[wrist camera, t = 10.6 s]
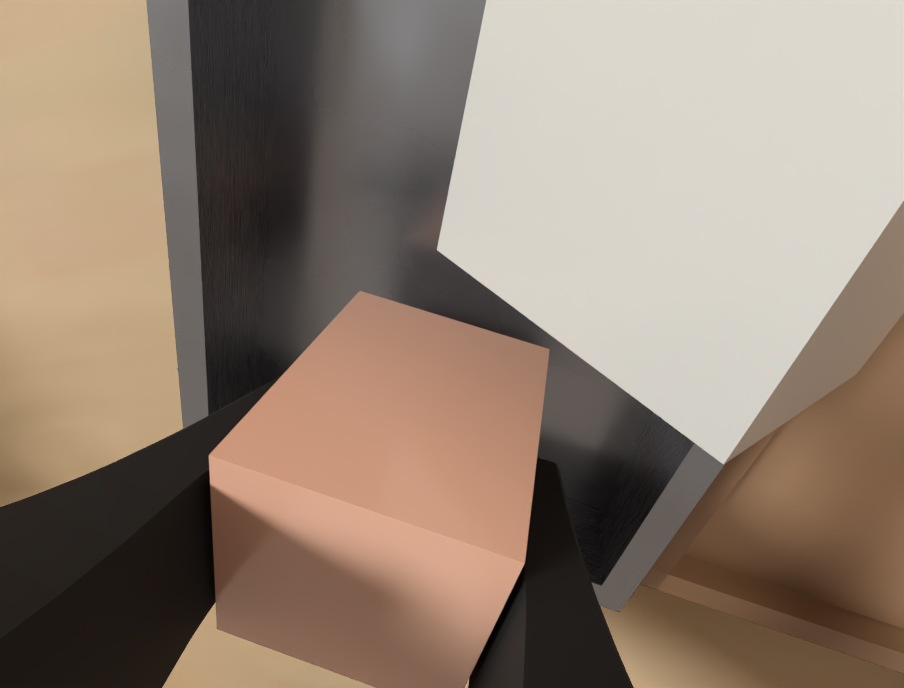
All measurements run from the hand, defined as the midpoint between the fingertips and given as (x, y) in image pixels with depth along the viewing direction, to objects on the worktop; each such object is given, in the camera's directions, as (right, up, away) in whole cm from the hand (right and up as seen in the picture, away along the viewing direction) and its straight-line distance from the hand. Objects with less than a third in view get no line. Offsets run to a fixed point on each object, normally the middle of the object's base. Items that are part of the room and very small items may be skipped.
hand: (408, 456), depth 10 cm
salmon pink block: (0, +1, +2) cm, 2 cm away
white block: (+3, +6, -2) cm, 6 cm away
